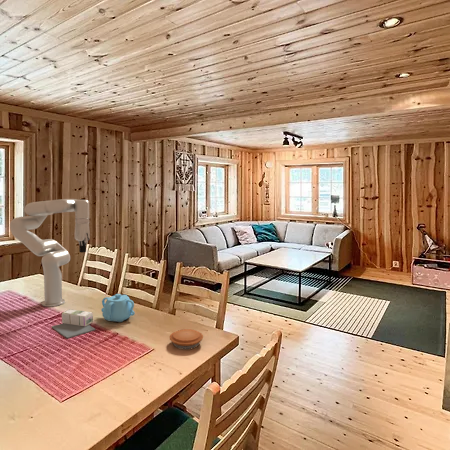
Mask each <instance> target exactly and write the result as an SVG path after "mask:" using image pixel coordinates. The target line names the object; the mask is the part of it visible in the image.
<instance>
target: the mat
mask: <svg viewBox="0 0 450 450" xmlns="http://www.w3.org/2000/svg"><path fill="white" fill-rule="evenodd" d="M51 328H52V329H53V330H55V331H56V332H57V333H58V334H60V335H61V336H62V337H64V338H65V339H71V338H74V337H77V336H81V335H84V334H87V333H90V332H93V331H96V328H95V327H93V326H91V325H90V324H89V325H87V326H79V325H72V324H65V323H58V324H56V325H52V326H51Z"/></svg>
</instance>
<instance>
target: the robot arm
mask: <svg viewBox="0 0 450 450" xmlns="http://www.w3.org/2000/svg"><path fill="white" fill-rule="evenodd" d="M73 212H74V215H75V217H74V222H75V225H74V240H76V241H77V242H78V246H79V253H80V254H82V253H87V244H89V240H90V236H91V233H90V232H91V231H90V201H89V200H88V199H76V198H62V199H61V198H60V199H52V200H43V201H34V202H29V203H27V204H26V205H25V206H24V213H25V214H26V216H24V215H23V216H18V217H15V218H13V219H12V220H10V222H9V223H10V224H9V229H10V233H11V235H12V236H13V237H14V238H15V239H17V240H18V241H19V242H20V243H22V244H23V245H24V246H25V247H26V248H27V249H28V250H29V251H30V252H31V253H33V254H34V255H35V256H37V257H42V258H41V265H42V270H43V285H44V287H43V288H44V290H43V292H44V295H43V296H44V300H43V301H41V306H43V307H46V308H47V307H50V308H51V307H56V306H61V305H63V304H65V303H66V300H65V299H64V298H63V284H62V283H63V281H62V280H63V277H62V276H63V274H62V271H61V268H60V267H61V266H64V265H66V264H68V263H69V262H70V261H71V255H70V253H69V251H68V249H66V248H65V247H63V246H62V245H61V244H60V243H59V242H58V241H56V240H55V239H53V238H46V239H41V237H39V236H38V235H37V234H36V233H34V232H33V231H32V232H31V230H36V229H38V228H39V227H40V226H41V225H42V224H43V223H44V221H45V220H46V218H47V217H48V216H52V215H54V214H61V213H73Z"/></svg>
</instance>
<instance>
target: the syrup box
mask: <svg viewBox="0 0 450 450" xmlns="http://www.w3.org/2000/svg"><path fill="white" fill-rule="evenodd" d="M93 322H94V315H93V312H91V311H84V310H77V309H71V308H70V309H67V310H65V311H63V312H62V313H61V324H63V323H65V324H72V325H79V326H87V325H90V324H92V323H93Z"/></svg>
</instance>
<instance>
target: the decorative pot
mask: <svg viewBox="0 0 450 450" xmlns="http://www.w3.org/2000/svg"><path fill="white" fill-rule="evenodd" d="M105 300H106V301H105ZM101 304H102V308H101V309H100V310H101V312H102V317H103V318H104V320H106V321H108V322H118V323H122V322H123V321H126V320H127V319H130V317H132V316H134V315H136V314H135V311H134V307H135V303H134V301H133V300H132V299H130V297H129V296H128V295H127V294H121V293H116V294H114V295H112V296H109V297H107V296H106V297H104V298H103V299H102V300H101Z"/></svg>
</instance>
